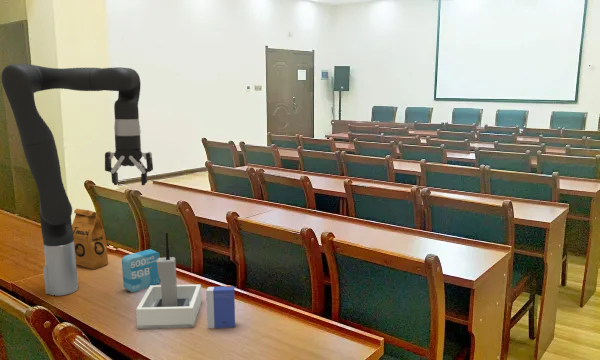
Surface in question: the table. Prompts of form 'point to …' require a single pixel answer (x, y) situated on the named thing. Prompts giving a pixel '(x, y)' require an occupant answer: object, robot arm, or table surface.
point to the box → (169, 308)
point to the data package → (140, 270)
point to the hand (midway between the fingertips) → (129, 184)
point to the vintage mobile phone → (168, 279)
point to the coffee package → (89, 240)
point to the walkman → (220, 307)
